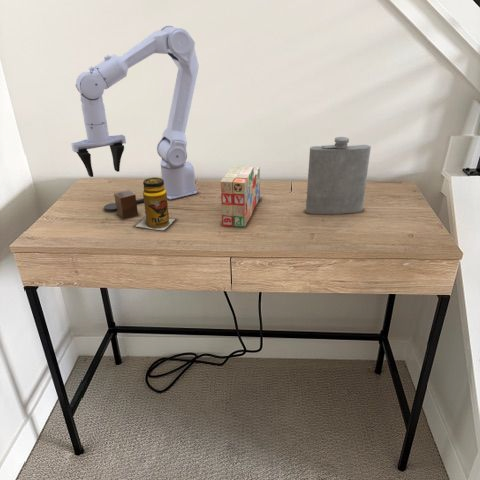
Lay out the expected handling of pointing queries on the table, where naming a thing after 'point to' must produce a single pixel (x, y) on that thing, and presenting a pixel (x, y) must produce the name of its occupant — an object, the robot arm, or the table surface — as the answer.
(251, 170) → the stack of blocks
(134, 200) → the walnut block
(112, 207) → the serving spoon
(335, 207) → the hip flask
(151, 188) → the condiment
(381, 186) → the table surface
